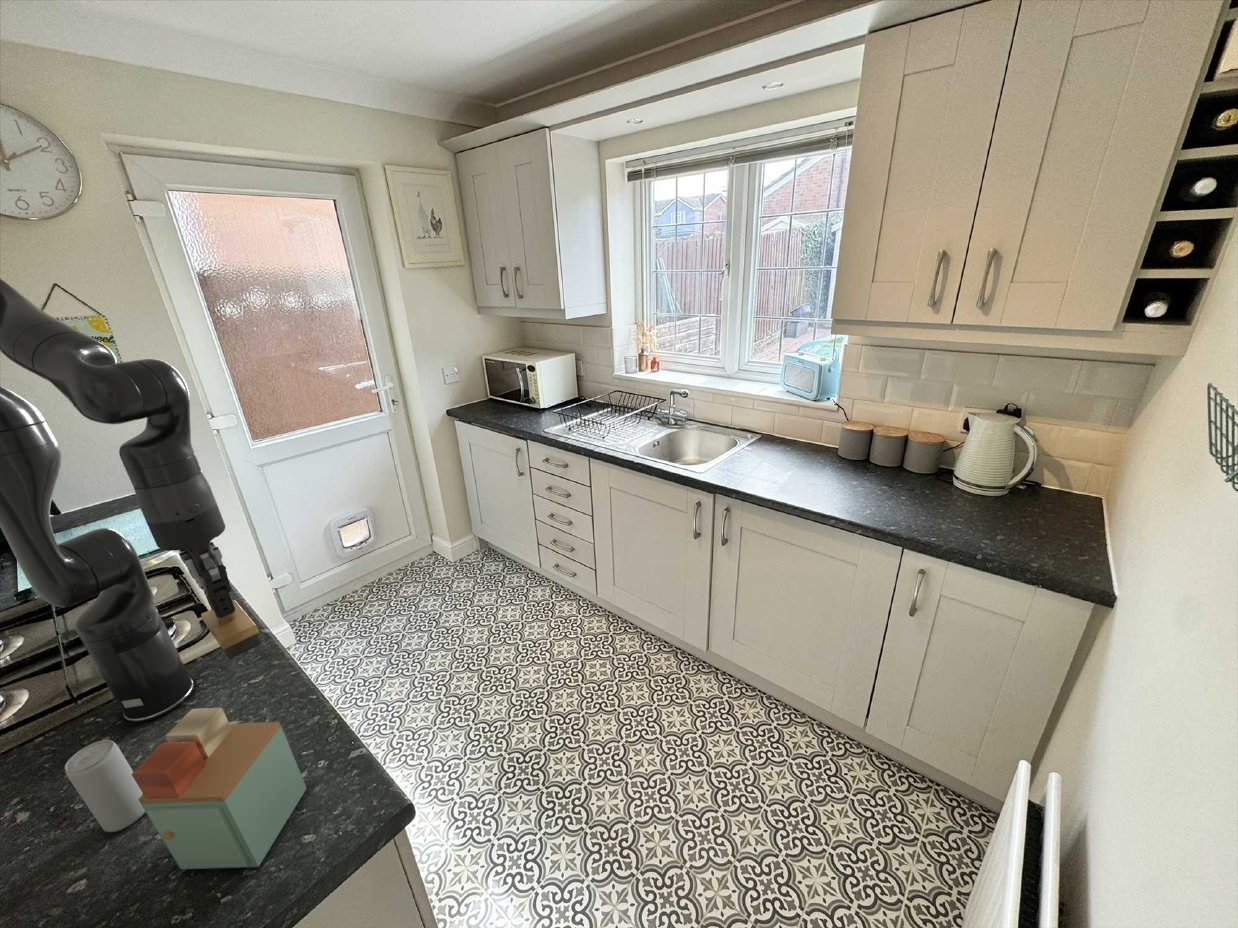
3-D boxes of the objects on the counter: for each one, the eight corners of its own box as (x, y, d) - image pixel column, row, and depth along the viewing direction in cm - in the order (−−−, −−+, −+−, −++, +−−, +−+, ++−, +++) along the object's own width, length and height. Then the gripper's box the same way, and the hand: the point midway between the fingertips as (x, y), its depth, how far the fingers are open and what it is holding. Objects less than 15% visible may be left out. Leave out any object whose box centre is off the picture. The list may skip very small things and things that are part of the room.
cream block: (203, 730, 64) (191, 708, 63) (232, 729, 64) (221, 707, 63) (177, 758, 60) (164, 735, 59) (208, 757, 60) (196, 734, 59)
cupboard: (239, 790, 70) (206, 724, 65) (307, 787, 70) (279, 721, 65) (174, 877, 60) (130, 806, 55) (253, 874, 59) (216, 803, 55)
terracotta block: (175, 765, 60) (162, 742, 58) (206, 764, 59) (194, 741, 58) (145, 798, 56) (130, 774, 54) (178, 796, 56) (165, 773, 54)
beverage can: (160, 799, 69) (125, 739, 65) (125, 835, 65) (84, 773, 60) (130, 797, 70) (94, 737, 65) (94, 833, 65) (51, 771, 61)
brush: (241, 616, 79) (220, 565, 75) (263, 643, 73) (241, 588, 69) (208, 631, 76) (185, 578, 72) (228, 660, 70) (203, 604, 66)
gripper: (135, 506, 68) (181, 606, 74) (155, 533, 59) (205, 644, 66) (201, 487, 73) (239, 583, 79) (228, 510, 65) (268, 615, 71)
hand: (223, 610), depth 73 cm, fingers closed on brush, 2 cm apart
